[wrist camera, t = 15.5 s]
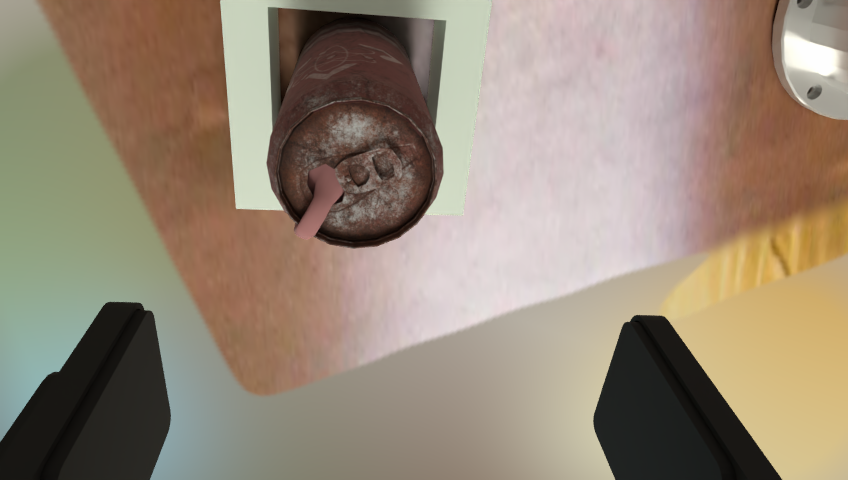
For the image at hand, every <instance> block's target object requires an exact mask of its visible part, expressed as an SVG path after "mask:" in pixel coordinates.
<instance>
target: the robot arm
mask: <svg viewBox="0 0 848 480" xmlns="http://www.w3.org/2000/svg"><path fill="white" fill-rule="evenodd" d="M772 51H773V58H774V66H775V69H776V71H777V74H778V77H779V79H780V82H781V84H782V85H783V87H784V88H785V90H786V91H787V92H788V94H789V95H790V97H792V98H793V99H794V100H795V101H797V102H798V103H799V104H800V105H802V106H803V107H805V108H807V109H809V110H811V111H813V112H815V113H818V114H820V115H823V116H827V117H830V118H833V119H842V120H848V0H779V3H778V8H777V12H776V16H775V20H774V25H773V38H772ZM170 417H171V414H170V406H169V401H168V395H167V389H166V383H165V378H164V371H163V367H162V361H161V355H160V349H159V343H158V337H157V331H156V326H155V319H154V315H153V313H152V311H145V310H144V308H143V306H142V304H141V303H131V302H108V303H106V304H105V305H104V306H103V307H102V309H101V310H100V312H99V313H98V315H97V316H96V318H95V319H94V321H93V322H92V324H91V325H90V327H89V328H88V330H87V331H86V333H85V334H84V336H83V337H82V339H81V341H80V342H79V343H78V345H77V346H76V348H75V349H74V351H73V352H72V354H71V355H70V357H69V358H68V360H67V361H66V363H65V364H64V366H63V367H62V369H61V370H60V371H59V372H53V373H51V374H49V375H48V376H47V377H46V378H45V379H44V380H43V381H42V383H41V384H40V386H39V387H38V388H37V390H36V391H35V393H34V394H33V396H32V397H31V399H30V400H29V402H28V403H27V404H26V406H25V407H24V409H23V410H22V412H21V413H20V414H19V416H18V417H17V419H16V420H15V422H14V423H13V425H12V426H11V428H10V429H9V430H8V432H7V433H6V435H5V436H4V438H3V439H2V441H1V442H0V480H150V478H151V475H152V473H153V470H154V467H155V465H156V462H157V460H158V457H159V454H160V452H161V449H162V447H163V444H164V441H165V439H166V436H167V434H168V431H169V427H170V419H171V418H170ZM593 422H594V429H595V432H596V435H597V437H598V440H599V442H600V444H601V447H602V449H603V451H604V454H605V456H606V459H607V461H608V463H609V466H610V468H611V470H612V473H613V475H614V477H615V480H782V479H781V477H780V476H779V475H778V473H777V472H776V470H775V469H774V468H773V466H772V465H771V463H770V462H769V461H768V460H767V458H766V456H765V455H764V454H763V452H762V451H761V449H760V448H759V447H758V445H757V444H756V443H755V441H754V440H753V438H752V437H751V435H750V434H749V433H748V431H747V430H746V429H745V427H744V426H743V424H742V423H741V422H740V420H739V419H738V417H737V416H736V415H735V413H734V412H733V410H732V409H731V408H730V407H729V405H728V403H727V402H726V401H725V399H724V398H723V397H722V395H721V394H720V392H719V391H718V389H717V388H716V387H715V385H714V384H713V382H712V381H711V380H710V378H709V377H708V376H707V374H706V373H705V371H704V370H703V369H702V367H701V366H700V364H699V363H698V362H697V360H696V359H695V357H694V356H693V355H692V353H691V352H690V350H689V349H688V348H687V346H686V345H685V343H684V342H683V341H682V339H681V338H680V336H679V335H678V334H677V332H676V331H675V330H674V328H673V327H672V325H671V324H670V323H669V321H668V320H667V319H666V318H665V317H663V316H650V315H648V316H647V315H636V316H634V317H633V318H632V319H631V321H630V322H626V323H624V325H623V327H622V329H621V333H620V335H619V339H618V342H617V345H616V348H615V351H614V354H613V357H612V360H611V363H610V366H609V370H608V373H607V376H606V379H605V382H604V385H603V388H602V391H601V395H600V398H599V401H598V404H597V407H596V410H595V413H594V420H593Z"/></svg>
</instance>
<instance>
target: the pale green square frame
mask: <svg viewBox="0 0 848 480" xmlns="http://www.w3.org/2000/svg"><path fill="white" fill-rule="evenodd" d="M220 4H221V17H222V30H223V43H224V56H225V69H226V82H227V95H228V108H229V122H230V135H231V148H232V161H233V174H234V187H235V200H236V209H260V210H283V208H282V206H281V205H280V203H279V201H278V199H277V198H276V196H275V194H274V192H273V191H272V189H271V184H270V179H269V174H268V169H267V164H266V162H267V155H268V149H269V142H270V136H271V133H272V131H273V128H274V125H275V122H276V119H277V117H278V114H279V111H280V108H281V87H280V56H279V24H278V8H290V9H303V10H316V11H329V12H342V13H355V14H368V15H381V16H394V17H407V18H420V19H433V20H434V31H433V41H432V52H431V63H430V74H429V85H428V96H427V108H428V111H429V113H430V116H431V118H432V121H433V124H434V126H435V129H436V131H437V134H438V137H439V139H440V142H441V145H442V147H443V168H444V174H443V177H442V181H441V184H440V187H439V190H438V194H437V197H436V199H435V200H434V201H433V203H432V204H431V206H430V207H429V209H428V210H427V211H426V213H425V214H424V215H457V216H463V211H464V204H465V196H466V189H467V182H468V174H469V167H470V160H471V152H472V145H473V137H474V130H475V123H476V115H477V108H478V101H479V93H480V86H481V78H482V71H483V64H484V56H485V49H486V42H487V34H488V27H489V19H490V12H491V5H492V0H220Z"/></svg>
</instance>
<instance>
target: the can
mask: <svg viewBox="0 0 848 480" xmlns="http://www.w3.org/2000/svg"><path fill="white" fill-rule="evenodd" d="M266 164H267V169H268V174H269V179H270V184H271V189H272V191H273V192H274V194H275V196H276V198H277V199H278V201H279V203H280V205H281V206H282V208H283V210H284V211H285V212H286V213H287V214H288V215H289V217H290V218H291V219H292V220H293V221H294V222H295V228H294V232H295V234H296V235H297V236H298V237H300V238H303V239H309V238H311V237H315V238H317V239H319V240H321V241H323V242H326V243H328V244H330V245H336V246H341V247H347V248H353V249H354V248H365V247H375V246H379V245H382V244H384V243H387V242H389V241H392V240H395V239H397V238H399V237H401V236H402V235H403V234H405V233H406V232H407V231H408V230H410V229H411V228H412V227H414V226H415V225H416V224H417V223H418V222H419V221H420V219H421V218H422V217H423V216H424V214H425V213H426V211H427V210H428V209H429V207H430V206H431V204H432V203H433V201H434V200H435V199H436V197H437V194H438V190H439V187H440V184H441V181H442V177H443V174H444V168H443V147H442V145H441V142H440V139H439V137H438V134H437V131H436V129H435V126H434V124H433V121H432V118H431V116H430V113H429V111H428V108H427V105H426V103H425V100H424V97H423V95H422V92H421V90H420V87H419V84H418V82H417V79H416V76H415V74H414V71H413V69H412V66H411V63H410V61H409V58H408V56H407V53H406V50H405V48H404V47H403V45H402V44H401V43H400V42H399V40H398V39H397V38H396V37H395V35H394V34H393V33H392V32H390V31H389V30H387V29H386V28H384V27H382V26H381V25H379V24H378V23H376V22H372V21H368V20H364V19H361V18H349V19H338V20H336V21H334V22H331V23H329V24H327V25H324V26H322V27H321V28H320V29H319V30H318V31H317V32H315V33H314V34H313V35H312V36H311V37H310V38H309V39H308V40H307V42H306V44H305V46H304V48H303V50H302V52H301V53H300V55H299V58H298V61H297V64H296V66H295V69H294V72H293V75H292V78H291V80H290V83H289V86H288V89H287V92H286V94H285V97H284V100H283V103H282V105H281V108H280V111H279V114H278V117H277V119H276V122H275V125H274V128H273V131H272V133H271V136H270V142H269V149H268V155H267V162H266Z"/></svg>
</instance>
